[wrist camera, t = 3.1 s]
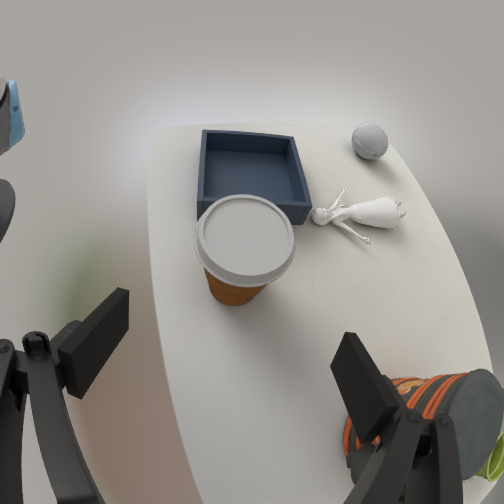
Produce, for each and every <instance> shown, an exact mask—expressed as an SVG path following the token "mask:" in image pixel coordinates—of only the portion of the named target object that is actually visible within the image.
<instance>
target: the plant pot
mask: <svg viewBox="0 0 504 504" xmlns="http://www.w3.org/2000/svg"><path fill="white" fill-rule="evenodd" d="M503 472H504V431H503V432H502V433H500V434H499V437H498V440H497V442H496V445H495V447H494V449H493V451H492V453H491V455H490V457H489V458H488V460H487V461H486V463H485V464H484V465H483V467H482V468H481V469H480V470H479V471H478V472H477V473H476V474H475V475H477V476H481V477H484V478H485V479H487V480H488V481H490V482H493V481H495V480H497V479H498V478H499V477H500V475H501V474H502V473H503Z"/></svg>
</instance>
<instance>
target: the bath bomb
mask: <svg viewBox="0 0 504 504" xmlns="http://www.w3.org/2000/svg"><path fill="white" fill-rule="evenodd" d="M352 145H353V148H354V150H355V151H356V152H357V154H359V155H360V156H361V157H363V158H365V159H370V160H373V159H377V158H380V157H381V156H383V155H384V153H385V152H386V150H387V148H388V138H387V135H386V133H385V132H384V130H383V129H382V128H381V127H379V126H378V125H376V124H373V123H364V124H361V125H359V126H358V127H357V128H356V129H355V130H354V132H353V134H352Z"/></svg>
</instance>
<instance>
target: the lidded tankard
mask: <svg viewBox="0 0 504 504" xmlns="http://www.w3.org/2000/svg"><path fill="white" fill-rule="evenodd" d="M391 381H392V382H393V384H394V385H395V388H396V389H397V390H398V393H399V394H400V395H401V397H402V399H403V400H404V402H405V403H406V405H407V407H408V408H411V409H415V410H417V411H418V412H420V413H421V414H422V416H423V418H425V419H434V417H435V416H436V415H437V414H438V413H445V414H447V415H449V416H450V417H451V418H452V419H453V422H454V426H455V431H456V437H457V443H458V449H459V457H460V465H461V475H462V481H463V480H466V479H468V478H470V477H472V476H473V475H475V474H476V473H477V472H478V471H479V470H480V469H481V468H482V467H483V465H484V464H485V463H486V461H487V460H488V458H489V457H490V455H491V453H492V451H493V449H494V447H495V445H496V442H497V440H498V437H499V434H500V429H501V425H502V421H503V413H504V389H503V388H502V387H501V385H500V384H499V382H498V380H497V379H496V378H495V376H494V375H493V374H492V373H491V372H489V371H488V370H486V369H477V370H474V371H471V372H469V373H460V374H451V375H438V376H435V377H433V378H431V379H420V378H414V377H413V378H399V379H397V378H396V379H393V380H391ZM379 442H380V437H379V435H378V436H377V437H376V439H375V440H374V441H373V442H370V443H361V444H360V443H359V440H358V437H357V435H356V432H355V429H354V427H353V424H352V421H351V419H350V416H349V417H348V419H347V421H346V425H345V428H344V434H343V443H344V451H345V455H346V456H347V457H346V459H347V467H348V468H351V478H352V481H353V483H354V484H355V485H356V483H357V481H358V479H359V478H360V476H361V474H362V473H363V471H364V469H365V467H366V465H367V463H368V462H369V460H370V458H371V456H372V454H373V453H370V452H371V451H372V450H373V449H374V448H375V446H376V445H377V444H378V443H379ZM406 483H407V479H406V482H405V485H404V487H403V490H402V492H401V495H400V497H399V499H398V502H397V504H404V502H405V493H406Z"/></svg>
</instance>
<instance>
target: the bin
mask: <svg viewBox="0 0 504 504" xmlns="http://www.w3.org/2000/svg"><path fill="white" fill-rule="evenodd" d="M238 194H246V195H253V196H258V197H261V198H263V199H266V200H268V201H270V202H271V203H273V204H275V205H276V206H277V207H278V208H279V209H280V210H281V211H282V212H283V213H284V214H285V215H286V217H287V218H288V219H289V221H290V224H297V225H302V224H303V222H304V221H305V219H306V217H307V215H308V214H309V212H310V210H311V208H312V203H311V199H310V195H309V191H308V187H307V183H306V180H305V176H304V172H303V169H302V165H301V161H300V158H299V154H298V151H297V148H296V144H295V141H294V137H290V136H282V135H273V134H263V133H252V132H239V131H223V130H202V140H201V152H200V164H199V178H198V193H197V222H198V221H199V219H200V217H201V216H202V215H203V214H204V212H206V210H207V209H208V208H209V206H211V205H212V204H214V203H215V202H216V201H218V200H220V199H222V198H224V197H227V196H231V195H238Z"/></svg>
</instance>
